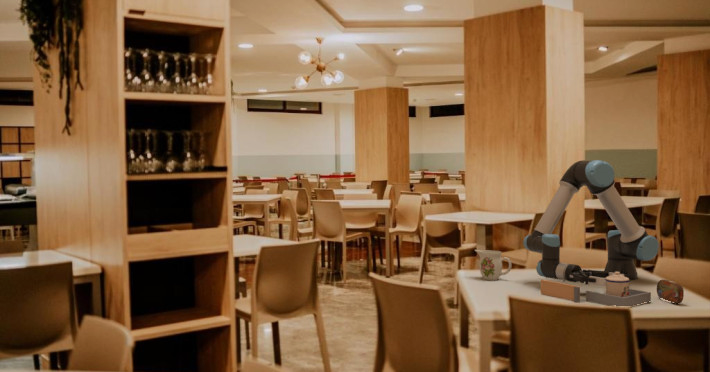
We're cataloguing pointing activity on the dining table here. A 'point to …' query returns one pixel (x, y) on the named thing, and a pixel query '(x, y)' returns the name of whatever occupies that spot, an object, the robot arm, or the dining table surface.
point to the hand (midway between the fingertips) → (614, 279)
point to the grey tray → (615, 297)
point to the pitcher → (492, 264)
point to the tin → (670, 291)
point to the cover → (557, 289)
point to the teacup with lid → (617, 285)
